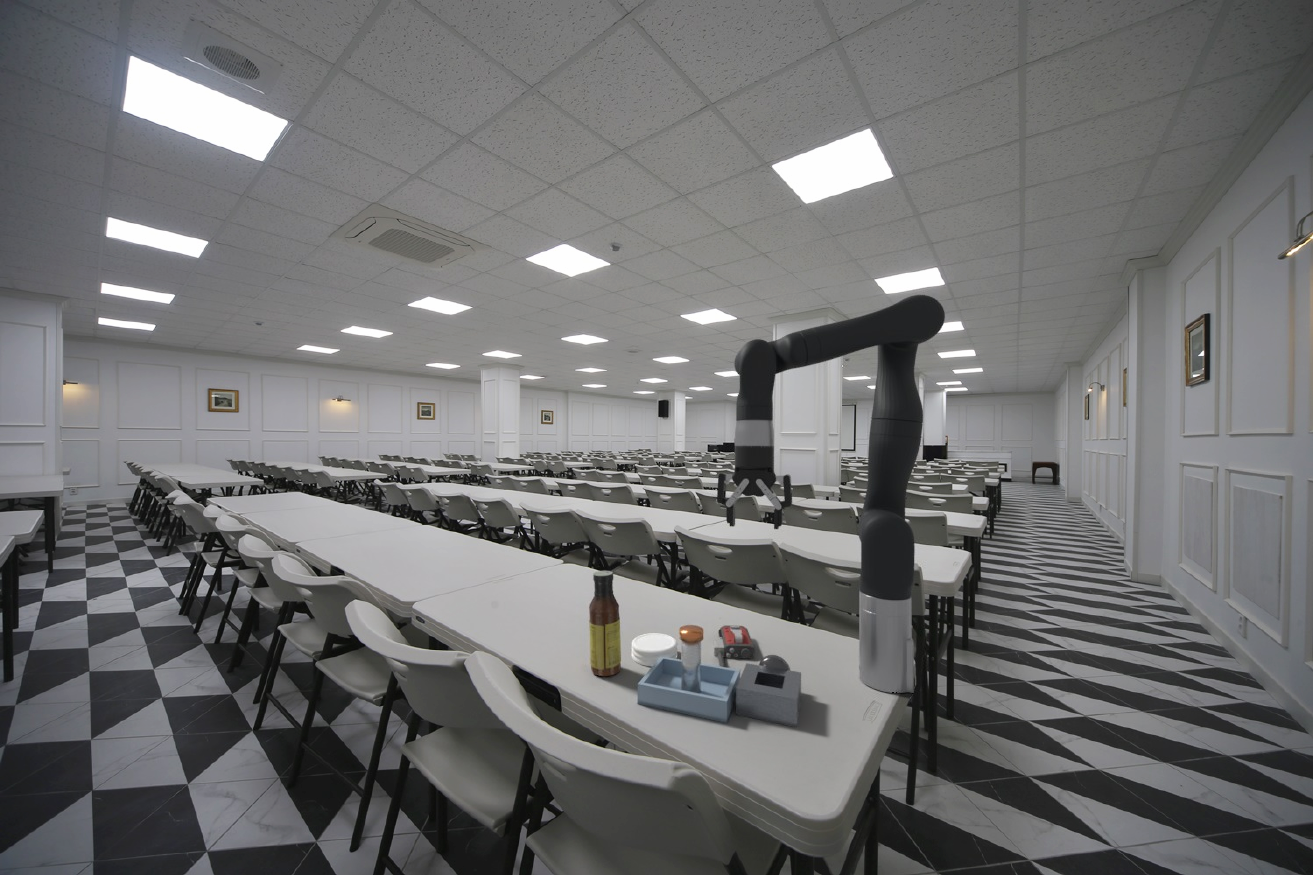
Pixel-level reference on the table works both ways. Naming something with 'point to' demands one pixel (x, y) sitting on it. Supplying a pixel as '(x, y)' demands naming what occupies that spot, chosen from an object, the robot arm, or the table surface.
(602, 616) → the sauce bottle
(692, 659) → the lock pin
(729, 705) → the tray
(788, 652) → the table surface
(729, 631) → the walkie-talkie
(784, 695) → the block
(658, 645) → the white round disc stack
